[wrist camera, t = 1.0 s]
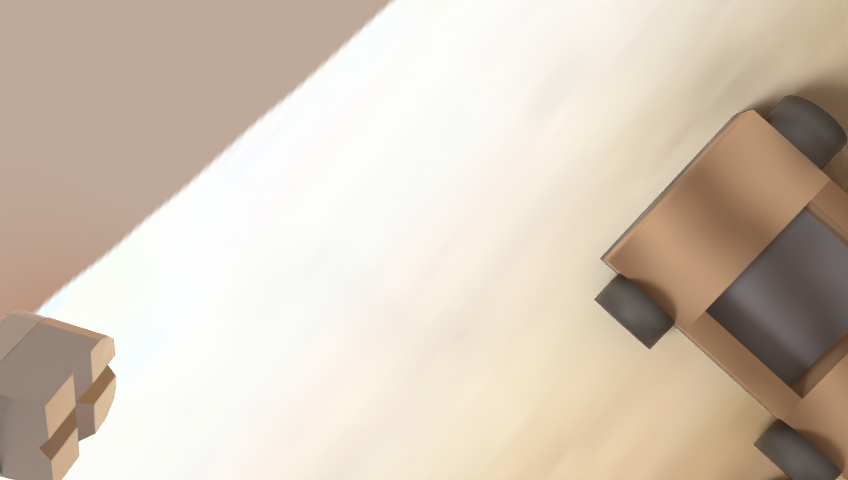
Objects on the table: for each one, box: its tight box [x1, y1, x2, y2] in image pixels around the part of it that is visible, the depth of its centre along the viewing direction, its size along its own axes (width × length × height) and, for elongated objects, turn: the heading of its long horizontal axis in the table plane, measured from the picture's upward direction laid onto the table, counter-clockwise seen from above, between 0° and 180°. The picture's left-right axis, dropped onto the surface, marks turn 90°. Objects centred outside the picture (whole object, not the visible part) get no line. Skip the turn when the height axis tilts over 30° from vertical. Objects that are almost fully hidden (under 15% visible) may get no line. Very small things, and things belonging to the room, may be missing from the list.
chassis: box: [594, 95, 848, 480], centre depth 41 cm, size 15×18×4 cm
